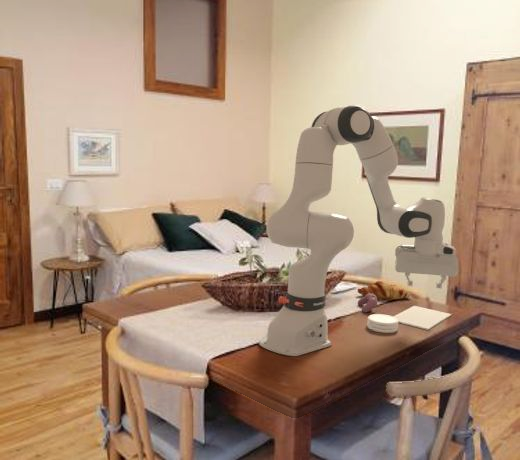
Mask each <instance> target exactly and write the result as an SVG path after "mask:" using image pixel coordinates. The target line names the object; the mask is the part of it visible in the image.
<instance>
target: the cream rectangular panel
mask: <svg viewBox="0 0 520 460" xmlns="http://www.w3.org/2000/svg"><path fill="white" fill-rule="evenodd" d="M451 316H452V313H447V312H444V311H440V310H435V309H430V308H425V307H421V306H417V305H413V306H411V307H409V308H407V309H405V310H404V311H401V312H399V313H397V314H395V315H393V317H395V318H397V319H398V324H401V325H402V324H403V325H405V326H406V325H407V326H409V327H415V328H418V329H422V330H425V331H426V330H427V331H429V330H431V329H432V328H435V326H437V325H439V324H440V323H442V322H443V321H444V320H447V319H448V318H449V317H451Z"/></svg>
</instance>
